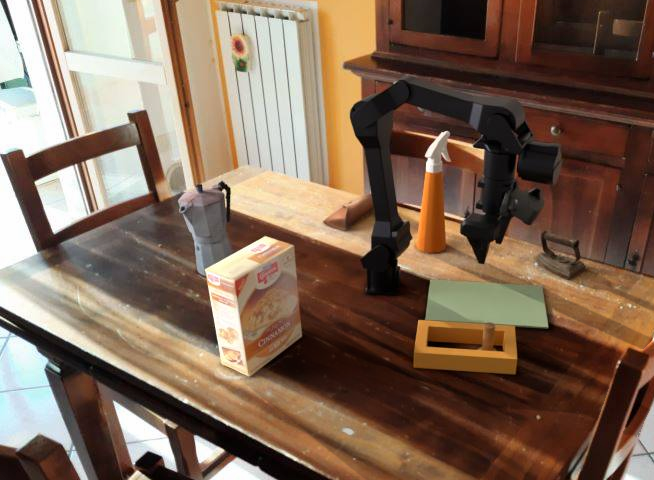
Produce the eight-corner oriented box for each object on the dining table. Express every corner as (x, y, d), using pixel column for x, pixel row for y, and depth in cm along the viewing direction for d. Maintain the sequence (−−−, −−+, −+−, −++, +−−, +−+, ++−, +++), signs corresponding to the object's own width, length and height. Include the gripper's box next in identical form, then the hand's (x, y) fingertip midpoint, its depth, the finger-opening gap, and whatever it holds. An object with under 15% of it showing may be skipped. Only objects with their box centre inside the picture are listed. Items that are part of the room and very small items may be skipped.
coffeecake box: (249, 377, 114) (234, 280, 103) (220, 364, 117) (202, 268, 106) (304, 336, 124) (295, 244, 113) (275, 325, 127) (264, 234, 116)
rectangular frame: (413, 367, 116) (413, 352, 114) (418, 334, 125) (418, 319, 123) (515, 374, 115) (517, 359, 113) (513, 340, 124) (514, 325, 122)
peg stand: (475, 361, 118) (478, 330, 114) (475, 348, 122) (478, 318, 118) (497, 362, 118) (501, 332, 114) (497, 349, 121) (500, 319, 117)
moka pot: (178, 278, 142) (159, 191, 131) (219, 248, 154) (206, 166, 143) (215, 286, 139) (199, 199, 128) (254, 255, 151) (243, 172, 140)
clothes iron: (572, 282, 143) (567, 241, 138) (528, 276, 150) (522, 236, 146) (588, 268, 147) (584, 227, 142) (545, 263, 154) (539, 223, 150)
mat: (425, 321, 129) (425, 319, 129) (430, 281, 142) (430, 279, 142) (548, 328, 127) (548, 327, 127) (541, 287, 140) (542, 285, 140)
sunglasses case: (358, 198, 178) (368, 180, 174) (377, 214, 178) (388, 197, 173) (320, 222, 165) (330, 204, 161) (341, 241, 165) (352, 223, 160)
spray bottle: (458, 239, 159) (465, 131, 144) (436, 256, 152) (441, 144, 137) (433, 232, 162) (437, 125, 148) (410, 248, 155) (412, 138, 140)
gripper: (525, 202, 105) (514, 285, 114) (557, 166, 119) (545, 243, 128) (461, 189, 109) (455, 270, 118) (500, 155, 123) (492, 231, 132)
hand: (490, 253), depth 124 cm, fingers open, 9 cm apart
